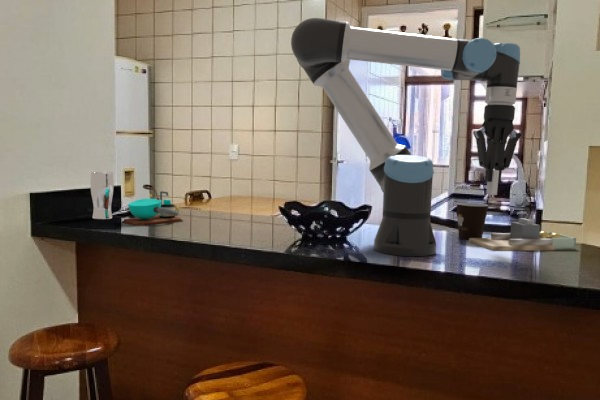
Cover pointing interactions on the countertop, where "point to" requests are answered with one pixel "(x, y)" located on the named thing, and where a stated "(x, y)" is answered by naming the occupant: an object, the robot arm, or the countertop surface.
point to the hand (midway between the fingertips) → (491, 194)
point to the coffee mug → (471, 220)
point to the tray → (563, 242)
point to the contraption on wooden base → (152, 211)
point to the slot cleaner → (524, 229)
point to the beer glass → (102, 194)
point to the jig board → (512, 243)
